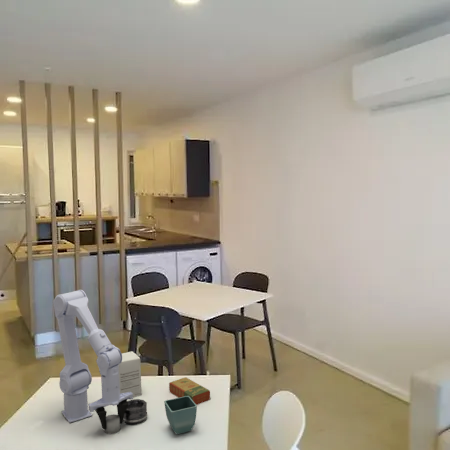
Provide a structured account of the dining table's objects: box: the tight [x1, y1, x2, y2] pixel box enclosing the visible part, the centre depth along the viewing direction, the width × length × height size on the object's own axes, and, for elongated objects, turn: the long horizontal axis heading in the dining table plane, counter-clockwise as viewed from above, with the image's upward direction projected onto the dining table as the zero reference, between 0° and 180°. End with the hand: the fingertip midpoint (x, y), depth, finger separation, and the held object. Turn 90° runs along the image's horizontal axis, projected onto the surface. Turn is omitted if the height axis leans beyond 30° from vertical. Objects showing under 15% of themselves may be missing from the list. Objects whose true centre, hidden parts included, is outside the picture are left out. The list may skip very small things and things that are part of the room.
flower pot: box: [163, 396, 198, 435], centre depth 148 cm, size 9×9×9 cm
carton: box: [168, 377, 211, 406], centre depth 173 cm, size 8×16×4 cm, turn 39°
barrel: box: [123, 398, 148, 426], centre depth 156 cm, size 8×8×5 cm
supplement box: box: [118, 351, 142, 398], centre depth 175 cm, size 9×9×15 cm
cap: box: [104, 413, 121, 435], centre depth 149 cm, size 5×5×4 cm
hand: (112, 425), depth 149 cm, fingers closed on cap, 5 cm apart
